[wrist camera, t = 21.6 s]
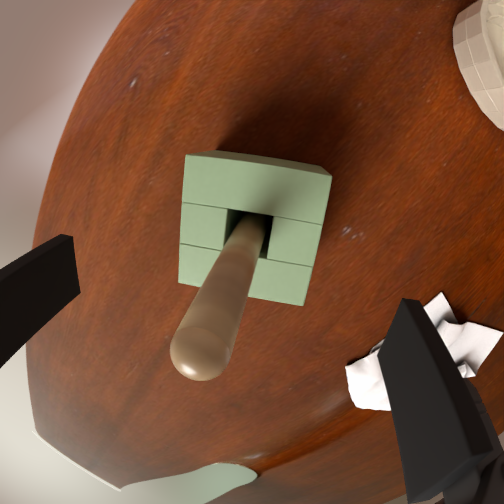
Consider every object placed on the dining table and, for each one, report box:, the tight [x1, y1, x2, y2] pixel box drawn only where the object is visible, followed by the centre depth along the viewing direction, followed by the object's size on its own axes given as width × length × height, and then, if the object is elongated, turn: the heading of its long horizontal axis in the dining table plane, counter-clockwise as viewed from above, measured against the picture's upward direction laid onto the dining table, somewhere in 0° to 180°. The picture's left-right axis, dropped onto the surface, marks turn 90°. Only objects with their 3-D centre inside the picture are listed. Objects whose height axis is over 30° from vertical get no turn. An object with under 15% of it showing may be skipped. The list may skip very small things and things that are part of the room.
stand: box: [179, 150, 332, 306], centre depth 21 cm, size 9×9×7 cm
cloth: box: [345, 292, 503, 410], centre depth 27 cm, size 20×22×2 cm
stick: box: [170, 211, 270, 381], centre depth 16 cm, size 2×2×18 cm
